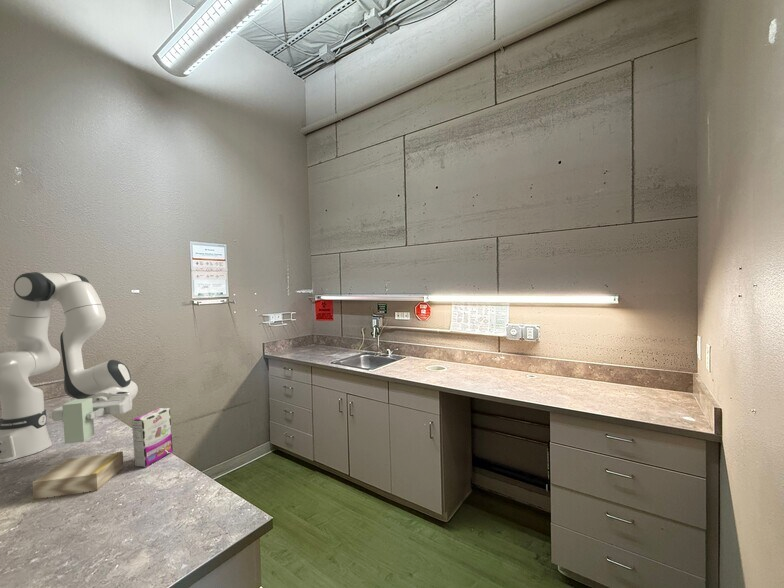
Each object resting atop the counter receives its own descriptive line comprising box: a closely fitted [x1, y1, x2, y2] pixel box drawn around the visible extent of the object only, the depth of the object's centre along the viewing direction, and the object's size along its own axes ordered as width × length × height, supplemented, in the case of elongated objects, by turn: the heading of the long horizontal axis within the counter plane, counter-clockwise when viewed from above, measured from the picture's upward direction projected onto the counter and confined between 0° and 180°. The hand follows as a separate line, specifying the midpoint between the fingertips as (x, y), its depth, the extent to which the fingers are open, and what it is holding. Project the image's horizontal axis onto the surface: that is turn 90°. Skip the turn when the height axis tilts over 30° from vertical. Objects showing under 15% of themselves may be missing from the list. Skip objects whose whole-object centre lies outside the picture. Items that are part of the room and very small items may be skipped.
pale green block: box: [62, 397, 95, 444], centre depth 107 cm, size 5×5×12 cm
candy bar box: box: [131, 407, 174, 468], centre depth 120 cm, size 11×5×16 cm, turn 168°
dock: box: [32, 450, 124, 500], centre depth 107 cm, size 16×14×5 cm
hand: (76, 418), depth 106 cm, fingers closed on pale green block, 5 cm apart
